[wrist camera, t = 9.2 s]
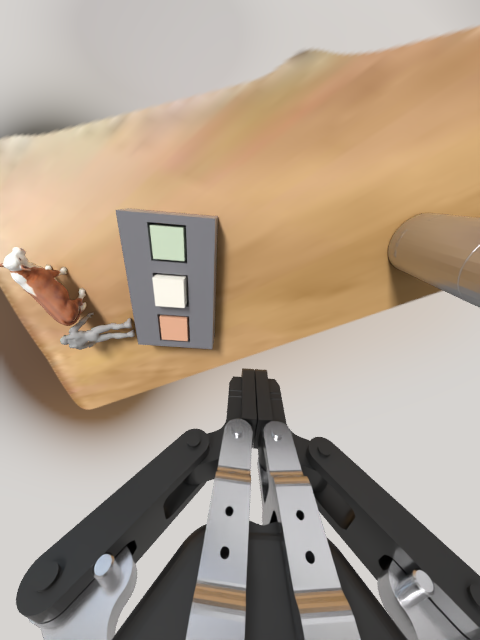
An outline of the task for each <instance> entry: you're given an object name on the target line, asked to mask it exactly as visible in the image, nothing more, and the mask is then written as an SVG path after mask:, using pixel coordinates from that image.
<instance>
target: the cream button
mask: <svg viewBox="0 0 480 640" xmlns="http://www.w3.org/2000/svg"><path fill="white" fill-rule="evenodd" d="M152 280H153V289H154V297H155V306H162V307H176V308H185V306H186V304H187V302H188V277H187V275H176V274H163V273H157V274H156V275H155V276H154V277H153V278H152Z"/></svg>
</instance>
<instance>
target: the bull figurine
mask: <svg viewBox="0 0 480 640" xmlns="http://www.w3.org/2000/svg"><path fill="white" fill-rule="evenodd" d="M25 253H26V252H25V250H24V249H22V248H19V247H14V248H13V251H12V252H11V253H10V254H9V255H7V256H6V257H5V259H4V263H2V264H0V267H5V268H7V269H9V270H10V272H11V276H12V278H13V279H14V281H16V282H17V283H18V284H20V286H21V287H22V288H23V289H24V290H25V291H26V292H27V293H29V294H30V295H31V296H32V297H33V298H34V299H35V300H36V301H37V302H38V303H39V304H40V305H41V306H42V307H43V308H44V309H45V310H46V312H47V313H48V314H49V315H51V316H52V317H53V318H54V319H55V320H56V321H57V322H59V323H61V324H63V325H66V326H70V325H73V324H74V323H76V322H77V320H78V319H79V317H80V315H81V313H82V312H83V311H84V309H85V307H86V302H84V303H82V301H83V298H84V296H86V294H85V289H83V288H80V289H79V297H78V298H77V299H75V300H70V299H69V294H68V291H67V290H66V288H65V287H64V286H63V285H62V284H60V283H59V282H58V281H56V280H55V279H54V278H55V277H56V276H59V275H61V274H67V272H66V271H67V268H66V267H62V268H61V269H60V271H57V270H52V267H51V266H50V265H46V266H45V269H44V268H43V267H41V266H37V265H36V264H34V263H32V262H29V261H28V259H27V258H26V257H25ZM78 311H79V314H78ZM77 315H78V316H77ZM75 318H76V319H75ZM74 319H75V320H74ZM73 320H74V321H73Z"/></svg>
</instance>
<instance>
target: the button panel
mask: <svg viewBox="0 0 480 640" xmlns="http://www.w3.org/2000/svg"><path fill="white" fill-rule="evenodd" d="M116 215H117V221H118V227H119V233H120V239H121V245H122V251H123V256H124V262H125V268H126V274H127V280H128V286H129V292H130V298H131V303H132V309H133V315H134V321H135V327H136V333H137V339H138V344H142V345H157V346H172V347H186V348H201V349H212V348H213V343H214V336H215V301H216V265H217V230H218V216H208V215H197V214H185V213H173V212H162V211H150V210H139V209H121V210H116ZM155 223H166V224H178V225H186V239H187V259H186V260H185V261H176V260H163V259H153V252H152V243H151V234H150V225H152V224H155ZM157 273H163V274H176V275H188V302H187V304H186V306H185V308H176V307H162V306H155V297H154V289H153V280H152V278H153V277H154V276H155V275H156V274H157ZM161 314H162V315H175V316H189V326H190V336H189V339H188V341H177V340H163V339H162V336H161V327H160V318H159V317H160V315H161Z"/></svg>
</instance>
